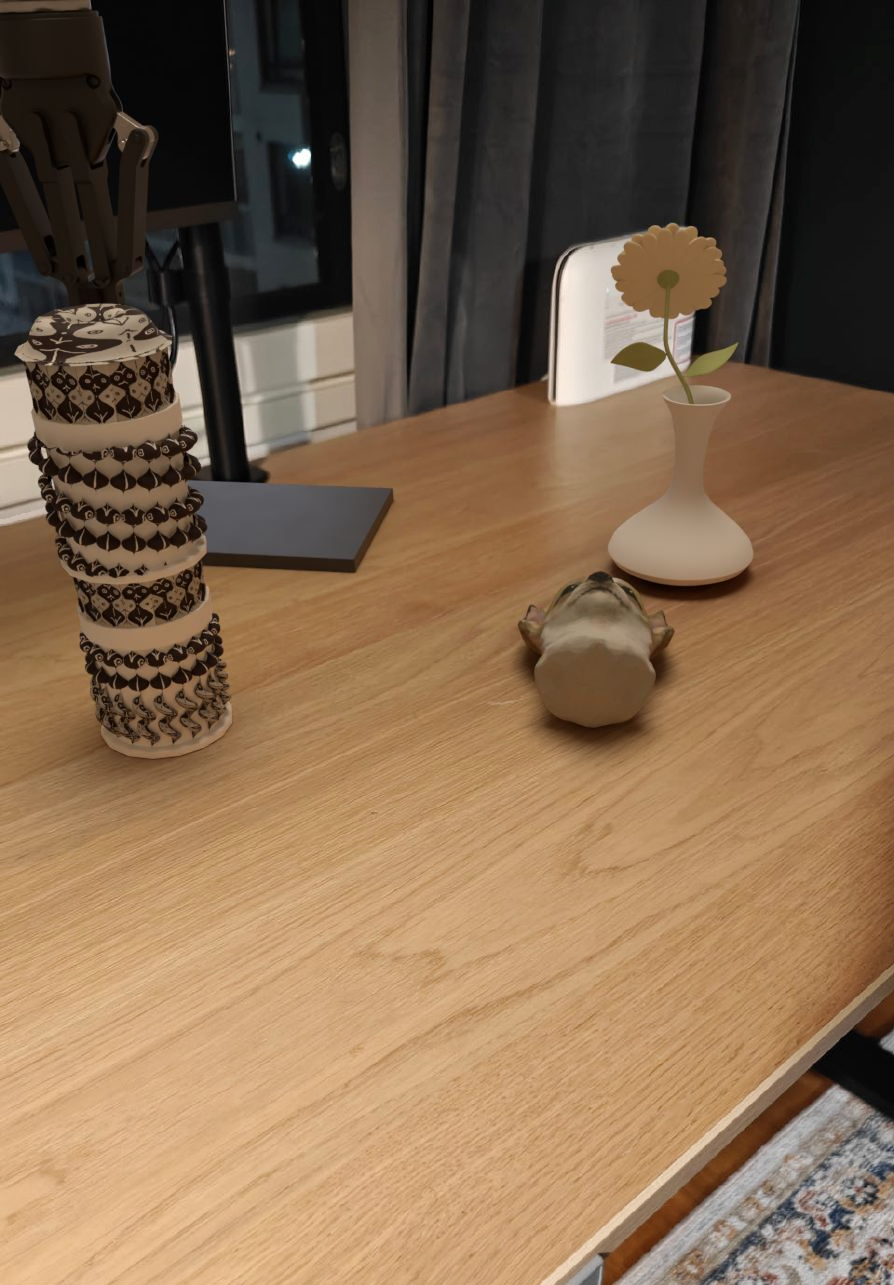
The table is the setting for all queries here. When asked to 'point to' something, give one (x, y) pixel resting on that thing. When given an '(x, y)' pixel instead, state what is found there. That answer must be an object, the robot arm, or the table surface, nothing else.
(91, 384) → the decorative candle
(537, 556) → the table surface
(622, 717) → the ceramic sculpture
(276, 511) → the dark grey base plate
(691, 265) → the flower in vase
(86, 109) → the robot arm
